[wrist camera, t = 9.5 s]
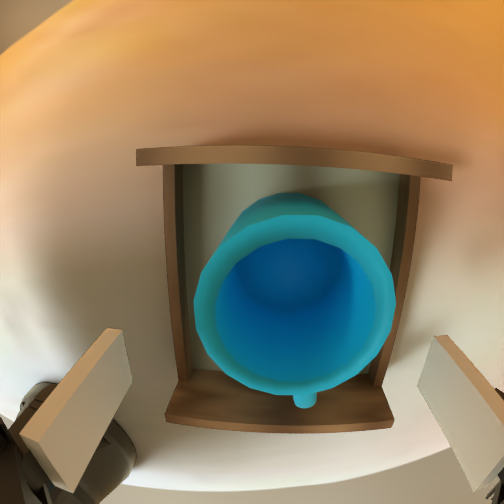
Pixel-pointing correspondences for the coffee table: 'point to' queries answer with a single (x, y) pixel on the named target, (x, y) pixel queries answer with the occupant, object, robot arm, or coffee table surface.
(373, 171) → the tray
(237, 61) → the coffee table surface
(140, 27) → the coffee table surface
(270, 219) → the mug
